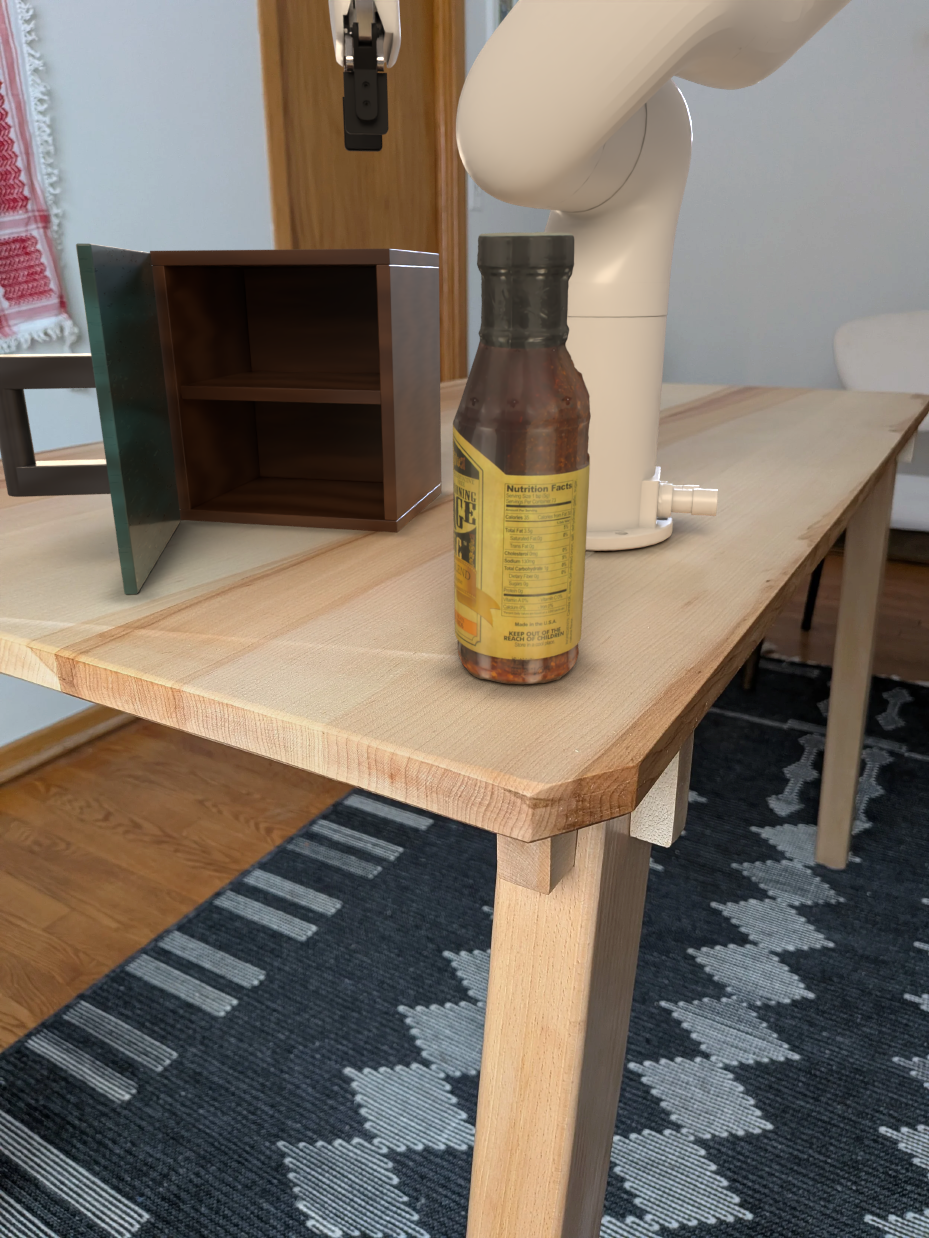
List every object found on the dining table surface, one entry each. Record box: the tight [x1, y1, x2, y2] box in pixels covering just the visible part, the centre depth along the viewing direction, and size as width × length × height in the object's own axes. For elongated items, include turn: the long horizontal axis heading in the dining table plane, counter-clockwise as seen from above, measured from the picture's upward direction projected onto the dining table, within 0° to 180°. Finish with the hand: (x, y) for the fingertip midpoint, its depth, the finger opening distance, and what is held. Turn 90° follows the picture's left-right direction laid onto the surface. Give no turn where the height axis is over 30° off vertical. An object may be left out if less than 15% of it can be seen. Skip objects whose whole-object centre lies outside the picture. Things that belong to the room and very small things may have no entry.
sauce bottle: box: [452, 231, 591, 685], centre depth 42 cm, size 7×6×20 cm
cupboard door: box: [0, 243, 182, 595], centre depth 60 cm, size 7×18×20 cm, turn 8°
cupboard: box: [149, 248, 442, 533], centre depth 74 cm, size 14×18×20 cm
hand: (365, 142), depth 73 cm, fingers open, 9 cm apart
